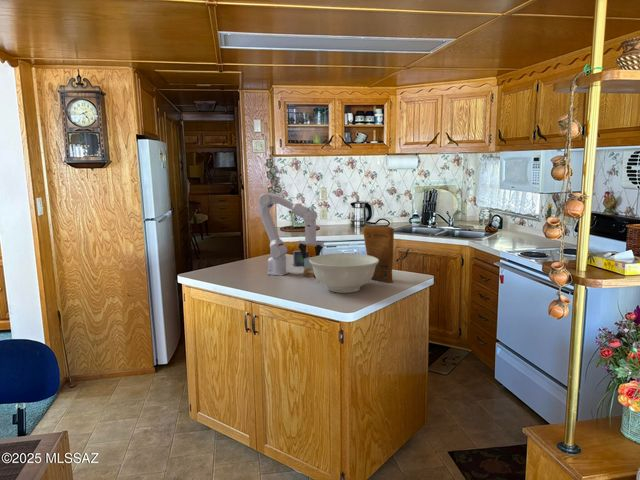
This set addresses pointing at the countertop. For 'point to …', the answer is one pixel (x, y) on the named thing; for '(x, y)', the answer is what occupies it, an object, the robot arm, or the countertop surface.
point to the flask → (299, 258)
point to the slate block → (307, 263)
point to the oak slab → (308, 270)
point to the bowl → (344, 271)
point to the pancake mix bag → (380, 250)
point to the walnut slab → (308, 274)
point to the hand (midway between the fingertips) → (310, 258)
